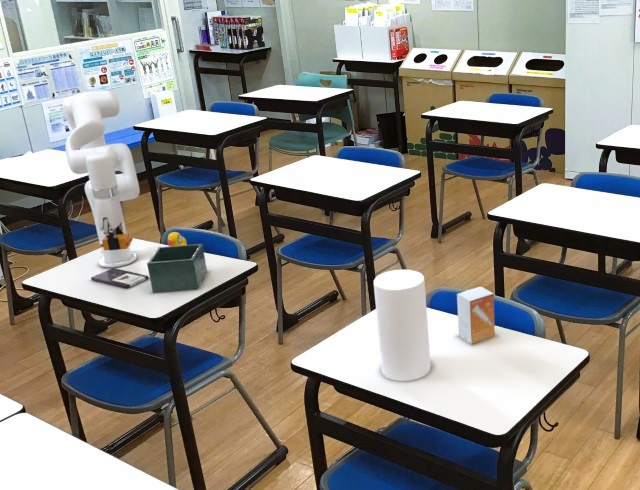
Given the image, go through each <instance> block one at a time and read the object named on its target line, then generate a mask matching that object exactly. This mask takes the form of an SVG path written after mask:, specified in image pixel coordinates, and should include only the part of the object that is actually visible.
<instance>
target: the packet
mask: <svg viewBox="0 0 640 490" xmlns="http://www.w3.org/2000/svg"><path fill="white" fill-rule="evenodd" d="M116 237H118V240H119V245H120V249H127V248H128V247H129V245H130V246H131V243H132V241H134V240H133V239H134V238H133V236H130V235H129V233H127V234H118V235H116ZM99 247H100V248H101V247H104V250H109V246H108V241H107V239H106V236H105V238H104V239H103V240H102V243H101V244H100V243H99Z"/></svg>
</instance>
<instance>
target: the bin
mask: <svg viewBox="0 0 640 490" xmlns="http://www.w3.org/2000/svg"><path fill="white" fill-rule="evenodd" d="M203 245H204V244H203V243H195V244H187V245H181V246H169V245H168V246H159V247H158V248H157V249H156V250H155V252H154V253H153V254H152V256H150V258H149V260H148V262H146V265H147V270H148V277H149V280H150V286H151V290H152V293H153V294H159V293H160V294H161V293H173V292H181V291H192V290H193V291H194V290H195V291H196V290H199V289H200V287H201V285H202V283H203V281H204V280H205V277H206V276H207V274H208V268H207V262H206V257H205V251H204V246H203Z"/></svg>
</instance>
